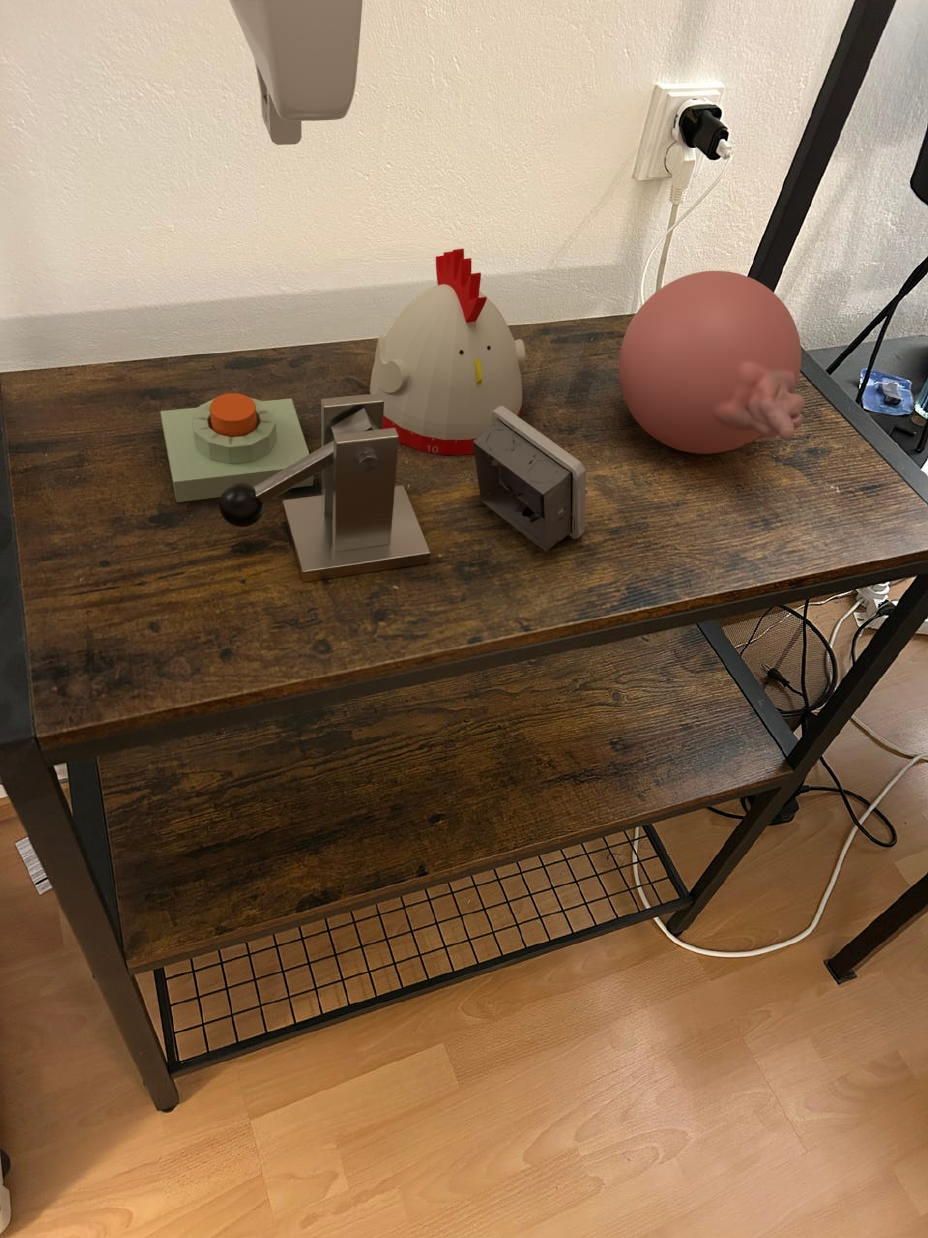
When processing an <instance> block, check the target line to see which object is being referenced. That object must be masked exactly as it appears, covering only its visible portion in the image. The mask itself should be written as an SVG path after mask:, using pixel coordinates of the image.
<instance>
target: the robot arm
mask: <svg viewBox="0 0 928 1238" xmlns="http://www.w3.org/2000/svg"><path fill="white" fill-rule="evenodd" d="M228 1H229V4H230V5H231V8H232V10H233V13H234V15H235V17H236V19H237V22H238V24H239V26H240V29H241V31H242V33H243V36H244V38H245V40H246V43H247V45H248V47H249V49H250V50H249V51H250V52H251V55H252V57H253V59H254V63H255V69H256V74H257V81H258V87H259V91H260V108H261V109H260V111H261V118H262V120H263V123H264V126H265V128H266V131H267V133H268V135H269V139H270V140H271V142H272V143H273V144H275V145H276V146H287V145H288V146H289V145H290V146H291V145H297V144H299V143H300V141H301V140H302V137H303V136H302V135H303V133H302V130H303V129H302V122H304V121H305V122H307V121H308V122H314V121H315V122H316V121H336V120H337V121H338V120H342V119H344V118H345V117H346V116H347V114H348V112H349V110H350V108H351V105H352V101H353V98H354V95H355V90H356V84H357V74H358V63H359V52H360V42H361V40H360V39H361V28H362V14H363V0H228Z"/></svg>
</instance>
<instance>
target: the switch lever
mask: <svg viewBox="0 0 928 1238" xmlns="http://www.w3.org/2000/svg"><path fill="white" fill-rule="evenodd" d="M331 429H332V432H333V435H335V434H343V433H352V432H361V431H370V430H379V428H378V426H377V425H376V423H375V422H374V421H373V419H372V418H371V417H370V415H369V414H368V412H367V411H366V410H365V408H363V409H361V410H359V411H358V412H356V413H354V414H353V415H351V416H349V417H347V418H346V419H344V420H342V421H341V422H339V423H337V424H335V425H334V426H332V427H331ZM333 453H334V440H333V441H332V442H330V443H328V444H326V445H325V446H323V447H321V446H320V448H318V449H316V450H314V451H313V452H311V453H309V455H308V456H306V457H304V458H302V459H301V460H299V461H297V462H295V463H294V464H292V465H290V466H289V467H287V468H285V469H283V470H282V471H280V472H278V473H277V474H275V475H273V476H271V477H270V478H268V479H266V480H265V481H263V482H261V483H259V484H258V485H256V486H254V487H253V486H251V485H249V484H245V483H237V484H233V485H231V486H229V487H228V488H227V489H225V490H224V492H223V493H222V495H221V497H219V501H218V508H219V512H220V514H221V516H222V519H224V520H225V522H227V523H228V524H230V525H231V526H234V527H237V528H247V527H250V526H252V525H255V524H256V523H258V522H259V520H260V519H261V517H262V516H263V513H264V510H265V504H266V503H268V502H270V501H272V500H273V499H275V498H277V497H278V496H280V495H282V494H284V493H286V492H287V491H289V490H291V489H293V488H292V487H294V486H296V485H297V484H299V483H301V482H303V481H304V480H306V479H308V478H310V477H311V476H313V477H314V475H317V474H318V473H321V471H322V470H323V469H325V468H327V467H329V466H330V465H332V464H333Z"/></svg>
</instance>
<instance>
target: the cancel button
mask: <svg viewBox="0 0 928 1238" xmlns="http://www.w3.org/2000/svg"><path fill="white" fill-rule="evenodd" d="M251 398H252V397H249V396H247V395H245V394H242V393H237V392H229V393H224V394H220V395H219V396H217V397H215V398H213V399H214V400H213V401H212V402H211V404H210V415H211V424H212V428H213V429H214V430H215V432H217V433H218V434H220V435H223V436H227V437H240V436H246V435H248V434H250V433H252V432H253V431H254V430H255V428H256V426H257V415H256V405H255V403H254V401H253V400H252V399H251Z"/></svg>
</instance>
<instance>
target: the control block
mask: <svg viewBox="0 0 928 1238" xmlns="http://www.w3.org/2000/svg"><path fill="white" fill-rule="evenodd" d="M250 398H251V399H252V400H253V401H254V403H255V405H256V415H257V426H256V428H255V430H254V431H253V432H252V433H250V434H248V435H246V436H240V437H227V436H223V435H220V434H218V433H217V432H215V430H214V429H213V428H212V424H211V415H210V404H211V402H212V401H213V400H214V399H215V398H213V399H211V400H209V401H206V402H204V403H202V404H200V405H199V406H197V407H188V408H178V409H169V410H160V418H161V425H162V432H163V437H164V442H165V447H166V453H167V458H168V464H169V469H170V475H171V480H172V485H173V491H174V492H173V493H174V496H175V502H176V503H183V502H184V503H185V502H192V501H200V500H207V499H209V500H210V499H216V498H220V497H221V495H222V493H223V492H224V490H225V489H227V488H228V487H229V486H231V485H233V484H237V483H245V484H249V485H251V486H253V487H254V486H256V485H258V484H259V483H261V482H263V481H265V480H266V479H268V478H270V477H271V476H273V475H275V474H277V473H278V472H280V471H282V470H283V469H285V468H287V467H289V466H290V465H292V464H294V463H295V462H297V461H299V460H301V459H302V458H304V457H306V456H308V455H309V454H310V452H309V449H308V446H307V445H308V444H307V443H306V440H305V436H304V433H303V431H302V426H301V423H300V420H299V418H298V414H297V411H296V408H295V404H294V401H293V399H292V398H281V399H271V400H270V399H269V400H259V399H257V398H253V397H250ZM312 486H314V475H313V476H311V477H310V478H308V479H306V480H304V481H303V482H301V483H299V484H297V485H296V486H294V487H292V488H291V489H296V488H297V489H298V488H303V487H312Z"/></svg>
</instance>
